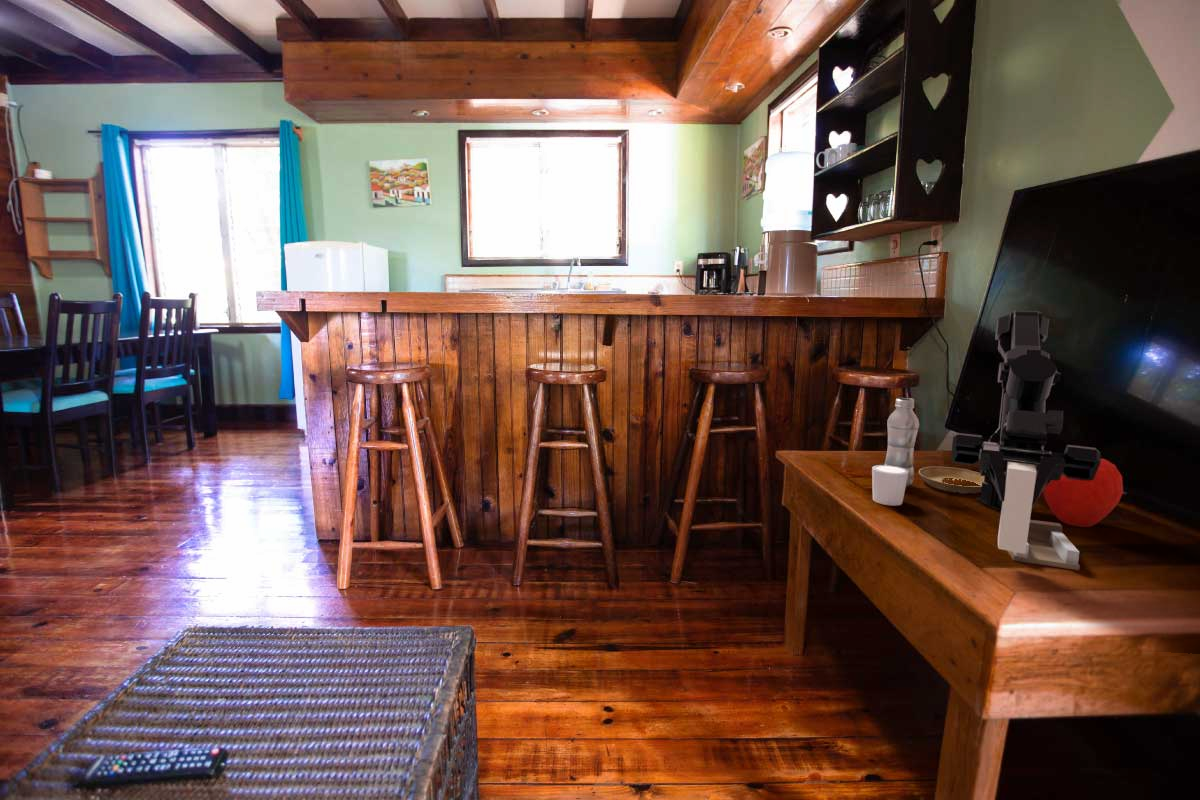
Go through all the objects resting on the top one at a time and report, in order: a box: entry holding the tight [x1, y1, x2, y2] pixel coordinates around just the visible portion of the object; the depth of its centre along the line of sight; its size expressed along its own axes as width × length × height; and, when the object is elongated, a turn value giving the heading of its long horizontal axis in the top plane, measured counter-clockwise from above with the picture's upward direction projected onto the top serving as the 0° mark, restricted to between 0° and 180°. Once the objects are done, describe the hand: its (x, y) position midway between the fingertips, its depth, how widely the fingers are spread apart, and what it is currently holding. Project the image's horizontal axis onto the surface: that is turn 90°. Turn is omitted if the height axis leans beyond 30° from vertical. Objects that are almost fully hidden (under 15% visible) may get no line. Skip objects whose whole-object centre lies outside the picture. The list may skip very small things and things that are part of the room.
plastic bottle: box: [883, 397, 920, 487], centre depth 130 cm, size 6×7×20 cm
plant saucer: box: [918, 466, 985, 494], centre depth 131 cm, size 15×15×3 cm
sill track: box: [1007, 519, 1081, 571], centre depth 96 cm, size 10×9×4 cm
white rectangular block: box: [997, 462, 1037, 554], centre depth 89 cm, size 4×3×13 cm
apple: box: [1042, 458, 1124, 528], centre depth 108 cm, size 12×12×13 cm
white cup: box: [871, 464, 909, 507], centre depth 120 cm, size 7×7×7 cm
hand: (1017, 502), depth 87 cm, fingers closed on white rectangular block, 3 cm apart
